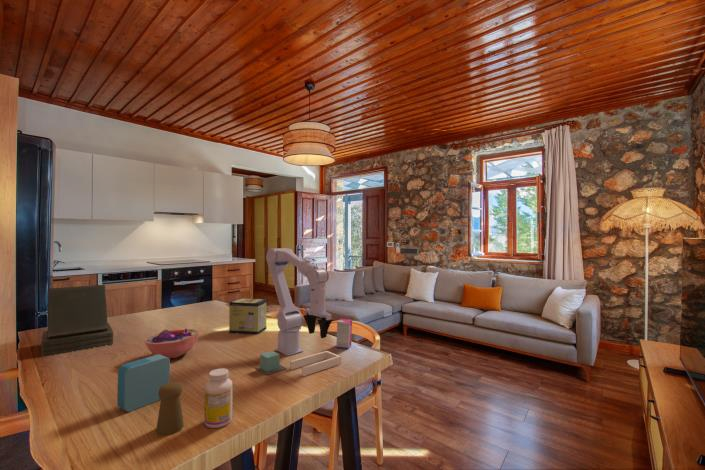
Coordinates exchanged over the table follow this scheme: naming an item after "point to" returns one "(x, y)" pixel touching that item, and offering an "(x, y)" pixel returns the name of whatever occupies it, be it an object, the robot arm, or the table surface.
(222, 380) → the supplement bottle
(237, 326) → the protein box
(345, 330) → the supplement box
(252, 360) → the table surface
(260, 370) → the mat
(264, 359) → the block
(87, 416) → the table surface
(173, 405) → the brown pepper mill
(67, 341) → the dark stepped-base plaque
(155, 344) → the cell model
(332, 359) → the frame
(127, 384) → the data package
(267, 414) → the table surface
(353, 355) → the table surface
